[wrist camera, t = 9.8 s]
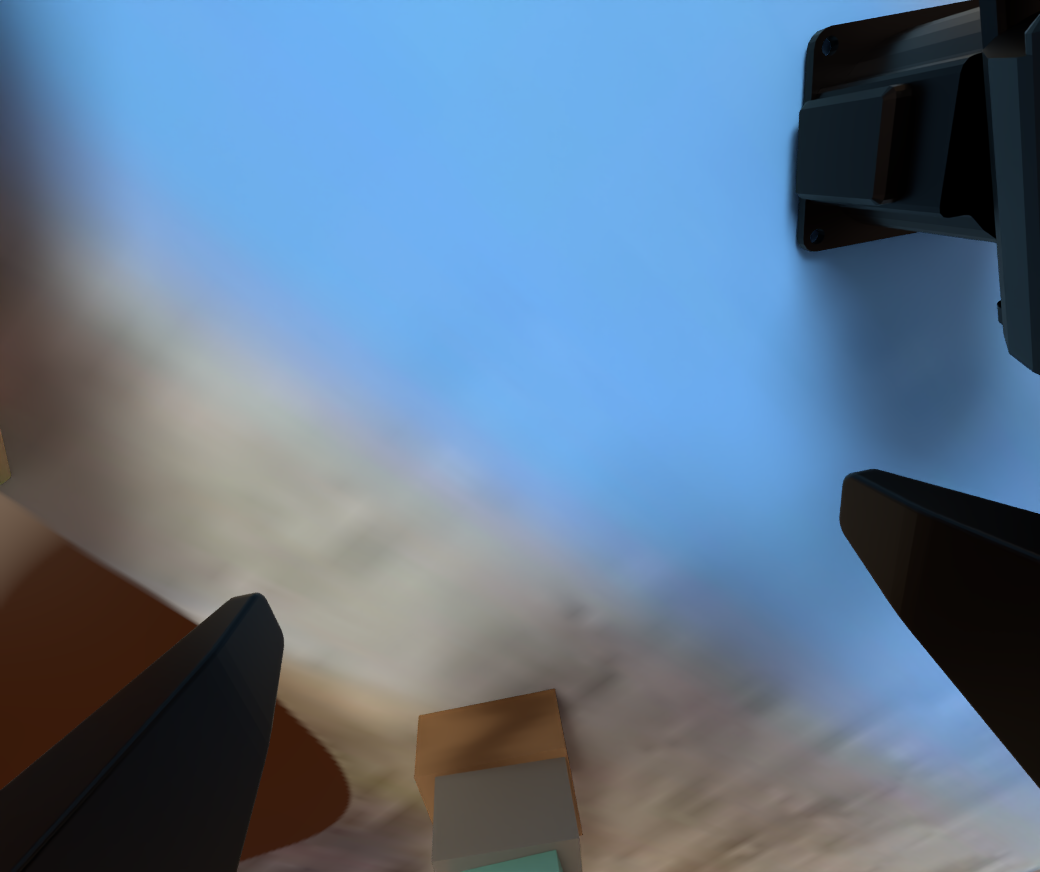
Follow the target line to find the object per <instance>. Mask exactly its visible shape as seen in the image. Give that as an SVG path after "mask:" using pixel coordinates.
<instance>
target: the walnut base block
mask: <svg viewBox="0 0 1040 872" xmlns="http://www.w3.org/2000/svg"><path fill="white" fill-rule="evenodd" d="M560 757H565V761H566V766H567V772H568V777H569V783H570V788H571V794H572V800H573V805H574V811H575V816H576V822H577V827H578V833H579V836H580V835H583V834H582V829H581V823H580V818H579V813H578V807H577V802H576V797H575V791H574V786H573V780H572V775H571V770H570V765H569V760H568V754H567V749H566V744H565V739H564V734H563V729H562V724H561V719H560V714H559V709H558V703H557V698H556V693H555V689H550V690H545V691H540V692H535V693H530V694H525V695H520V696H515V697H510V698H505V699H500V700H495V701H490V702H485V703H480V704H475V705H470V706H465V707H460V708H455V709H450V710H445V711H440V712H435V713H430V714H425V715H420V716H419V720H418V734H417V748H416V761H415V775H414V778H415V781H416V783H417V786H418V788H419V791H420V794H421V796H422V799H423V801H424V804H425V806H426V809H427V811H428V814H429V816H430V819H431V821H432V824H433V815H434V790H435V777H438V776H444V775H451V774H457V773H463V772H470V771H476V770H483V769H489V768H496V767H502V766H508V765H515V764H521V763H528V762H534V761H540V760H547V759H553V758H560Z"/></svg>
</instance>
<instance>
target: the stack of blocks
mask: <svg viewBox="0 0 1040 872" xmlns="http://www.w3.org/2000/svg"><path fill="white" fill-rule="evenodd" d="M10 477H11V472H10V468H9V464H8V460H7V455H6V451H5V447H4V442H3V438H2V434H1V429H0V485H1V484H3V483H4V482H5V481H7V480H8V479H10Z"/></svg>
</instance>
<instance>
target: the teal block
mask: <svg viewBox="0 0 1040 872" xmlns="http://www.w3.org/2000/svg"><path fill="white" fill-rule="evenodd" d="M461 872H563V870H562V867H561V864H560V860H559V857H558V854H557V851H556V850H553V851H548V852H544V853H540V854H535V855H531V856H526V857H522V858H518V859H513V860H509V861H505V862H500V863H496V864H491V865H487V866H483V867H478V868H474V869H470V870H465V871H461Z"/></svg>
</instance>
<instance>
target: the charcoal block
mask: <svg viewBox="0 0 1040 872" xmlns="http://www.w3.org/2000/svg"><path fill="white" fill-rule="evenodd" d="M553 850H556V851H557V854H558V857H559V860H560V864H561V867H562V870H563V872H582V864H581V852H580V839H579V833H578V827H577V822H576V816H575V811H574V805H573V800H572V794H571V788H570V783H569V777H568V772H567V766H566V761H565V757H560V758H553V759H547V760H540V761H534V762H528V763H521V764H515V765H508V766H502V767H496V768H489V769H483V770H476V771H470V772H463V773H457V774H451V775H444V776H438V777H435V790H434V815H433V840H432V865H433V869H434V872H461V871H465V870H470V869H474V868H478V867H483V866H487V865H491V864H496V863H500V862H505V861H509V860H513V859H518V858H522V857H526V856H531V855H535V854H540V853H544V852H548V851H553Z"/></svg>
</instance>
